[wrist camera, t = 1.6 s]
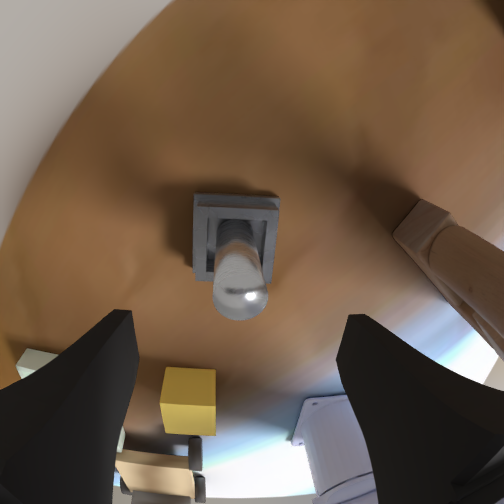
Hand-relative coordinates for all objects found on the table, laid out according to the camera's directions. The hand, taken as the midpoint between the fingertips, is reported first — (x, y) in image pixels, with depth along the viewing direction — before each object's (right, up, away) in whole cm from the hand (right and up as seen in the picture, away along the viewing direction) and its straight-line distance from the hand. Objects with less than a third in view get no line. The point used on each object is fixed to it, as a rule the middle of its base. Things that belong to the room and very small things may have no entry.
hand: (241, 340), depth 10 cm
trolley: (-10, -21, +19) cm, 30 cm away
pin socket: (-1, +4, +9) cm, 10 cm away
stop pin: (-1, +4, +9) cm, 10 cm away
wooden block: (+15, +2, +12) cm, 19 cm away
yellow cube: (-5, -8, +14) cm, 17 cm away
